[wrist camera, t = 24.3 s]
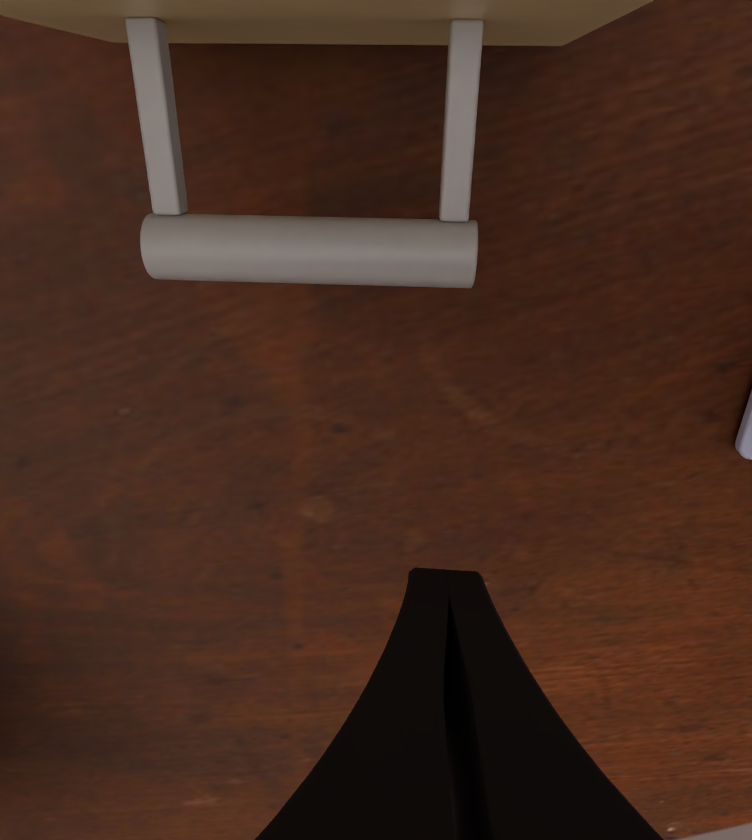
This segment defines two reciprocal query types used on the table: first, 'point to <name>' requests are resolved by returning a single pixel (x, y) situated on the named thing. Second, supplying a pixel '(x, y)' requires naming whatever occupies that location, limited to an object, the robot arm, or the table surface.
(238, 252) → the drawer
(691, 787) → the table surface
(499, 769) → the robot arm
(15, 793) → the table surface
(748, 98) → the table surface
